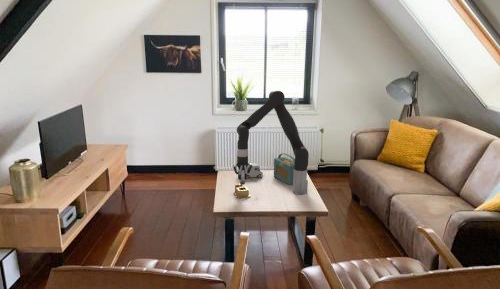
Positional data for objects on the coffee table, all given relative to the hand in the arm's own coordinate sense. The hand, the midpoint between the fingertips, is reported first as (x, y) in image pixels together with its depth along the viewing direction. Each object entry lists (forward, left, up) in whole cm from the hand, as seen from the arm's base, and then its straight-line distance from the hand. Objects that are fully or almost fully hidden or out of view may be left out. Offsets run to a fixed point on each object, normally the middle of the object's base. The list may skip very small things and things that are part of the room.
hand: (242, 179), depth 250 cm
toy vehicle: (-19, -37, -12) cm, 44 cm away
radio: (-44, -22, -12) cm, 50 cm away
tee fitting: (0, -2, -12) cm, 12 cm away
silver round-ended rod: (0, 0, -3) cm, 3 cm away
